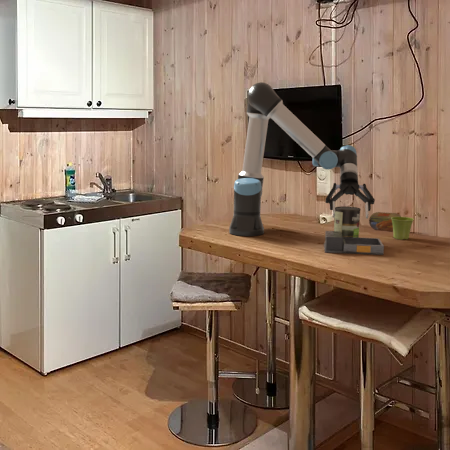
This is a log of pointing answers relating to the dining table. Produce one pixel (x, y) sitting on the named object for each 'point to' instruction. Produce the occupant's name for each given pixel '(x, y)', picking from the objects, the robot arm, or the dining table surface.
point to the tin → (382, 221)
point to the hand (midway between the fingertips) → (350, 216)
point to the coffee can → (347, 221)
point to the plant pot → (401, 227)
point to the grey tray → (352, 244)
